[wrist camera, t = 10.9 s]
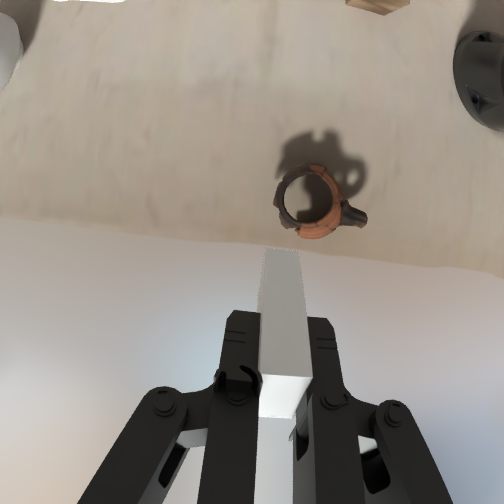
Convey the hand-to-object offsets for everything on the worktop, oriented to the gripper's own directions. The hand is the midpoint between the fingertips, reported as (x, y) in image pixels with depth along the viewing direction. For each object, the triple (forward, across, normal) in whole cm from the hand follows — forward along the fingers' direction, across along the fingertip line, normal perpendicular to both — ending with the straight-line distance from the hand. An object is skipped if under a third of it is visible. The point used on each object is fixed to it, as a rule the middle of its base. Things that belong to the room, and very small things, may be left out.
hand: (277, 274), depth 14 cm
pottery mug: (+27, +7, -6) cm, 28 cm away
